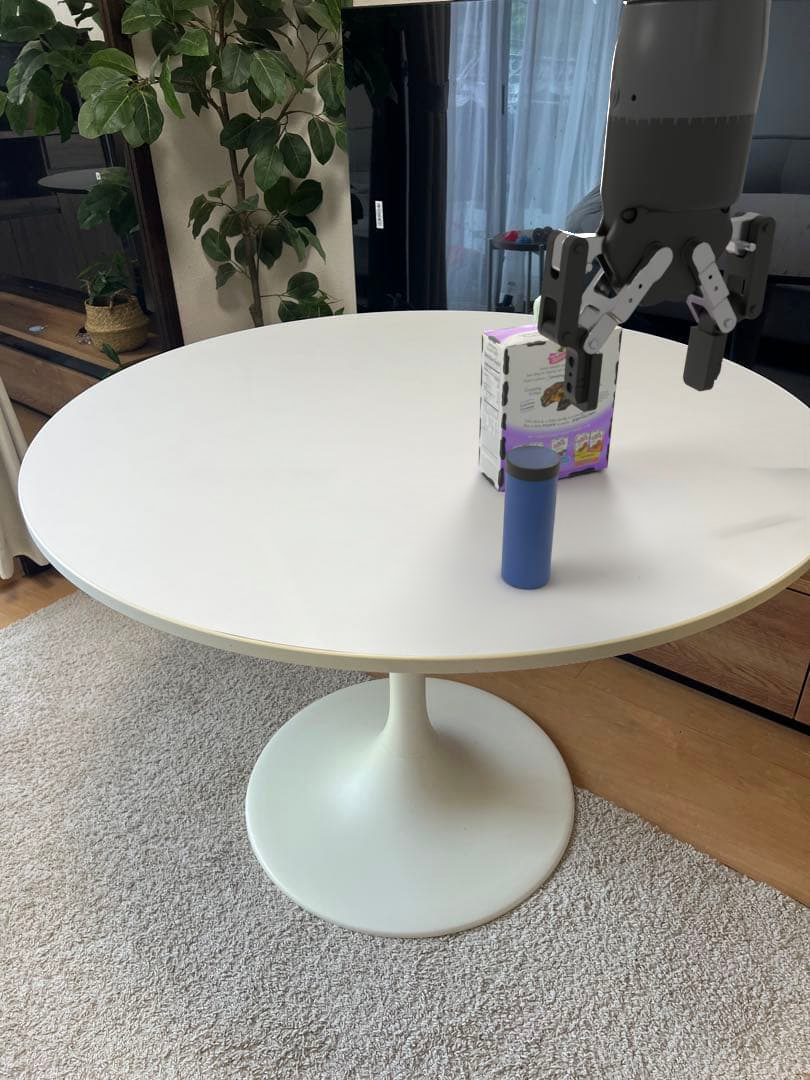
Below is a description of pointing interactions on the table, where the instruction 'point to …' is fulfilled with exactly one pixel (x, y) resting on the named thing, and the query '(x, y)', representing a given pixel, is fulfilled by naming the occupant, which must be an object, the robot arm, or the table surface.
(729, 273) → the robot arm
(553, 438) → the candy box
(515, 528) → the blue cylindrical container
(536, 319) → the robot head
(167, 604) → the table surface
